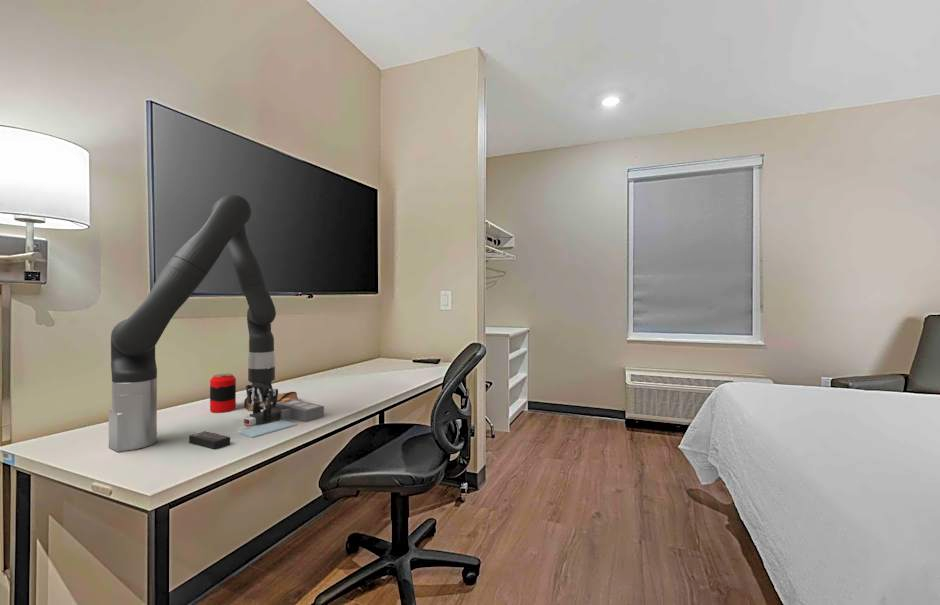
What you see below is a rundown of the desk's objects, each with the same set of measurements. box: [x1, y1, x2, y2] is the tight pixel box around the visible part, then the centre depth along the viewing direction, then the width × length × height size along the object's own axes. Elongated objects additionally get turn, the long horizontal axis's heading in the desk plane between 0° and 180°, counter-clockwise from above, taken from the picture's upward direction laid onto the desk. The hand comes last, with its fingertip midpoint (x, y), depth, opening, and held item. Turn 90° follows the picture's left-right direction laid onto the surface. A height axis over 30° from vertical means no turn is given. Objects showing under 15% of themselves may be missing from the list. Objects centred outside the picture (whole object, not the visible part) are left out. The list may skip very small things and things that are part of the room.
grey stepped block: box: [272, 398, 325, 423], centre depth 137 cm, size 10×17×4 cm, turn 58°
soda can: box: [209, 373, 237, 414], centre depth 142 cm, size 8×8×12 cm
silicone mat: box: [238, 419, 297, 439], centre depth 123 cm, size 14×7×1 cm, turn 148°
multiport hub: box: [188, 430, 231, 450], centre depth 111 cm, size 4×11×2 cm, turn 65°
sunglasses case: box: [243, 391, 299, 412], centre depth 150 cm, size 18×7×7 cm, turn 127°
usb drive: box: [242, 408, 282, 426], centre depth 131 cm, size 5×12×3 cm, turn 149°
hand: (261, 419), depth 130 cm, fingers closed on usb drive, 5 cm apart
